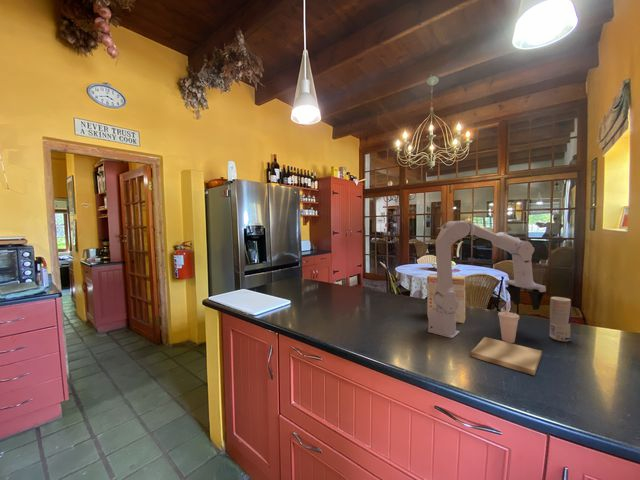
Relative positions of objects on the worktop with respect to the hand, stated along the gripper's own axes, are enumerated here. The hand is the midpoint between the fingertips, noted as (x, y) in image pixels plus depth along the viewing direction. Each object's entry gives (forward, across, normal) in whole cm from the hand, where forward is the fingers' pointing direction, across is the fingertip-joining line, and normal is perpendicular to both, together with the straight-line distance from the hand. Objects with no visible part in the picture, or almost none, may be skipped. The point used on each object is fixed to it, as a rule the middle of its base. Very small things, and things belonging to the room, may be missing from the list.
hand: (526, 306), depth 102 cm
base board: (+8, -12, +24) cm, 28 cm away
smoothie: (+9, -3, +13) cm, 17 cm away
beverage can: (+12, -7, -5) cm, 15 cm away
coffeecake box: (+8, +23, +19) cm, 30 cm away
